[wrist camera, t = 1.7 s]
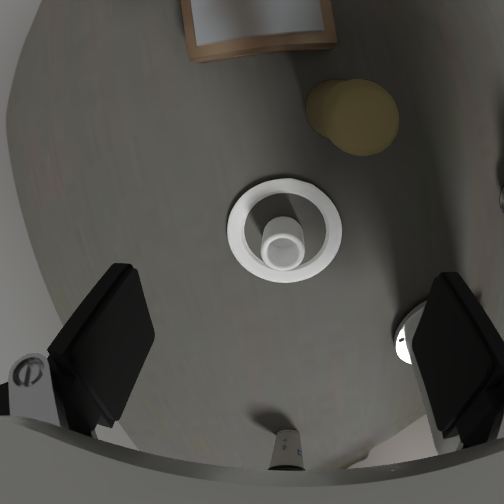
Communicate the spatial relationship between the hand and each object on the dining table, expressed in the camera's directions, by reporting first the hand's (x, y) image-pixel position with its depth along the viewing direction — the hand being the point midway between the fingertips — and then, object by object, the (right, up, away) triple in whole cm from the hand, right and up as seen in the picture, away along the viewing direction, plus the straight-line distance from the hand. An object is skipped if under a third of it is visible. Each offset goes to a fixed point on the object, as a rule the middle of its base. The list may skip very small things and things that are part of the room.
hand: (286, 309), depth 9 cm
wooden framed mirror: (-1, +25, +12) cm, 27 cm away
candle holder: (+2, +4, +24) cm, 24 cm away
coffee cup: (+6, -34, +44) cm, 56 cm away
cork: (+7, +15, +17) cm, 23 cm away
